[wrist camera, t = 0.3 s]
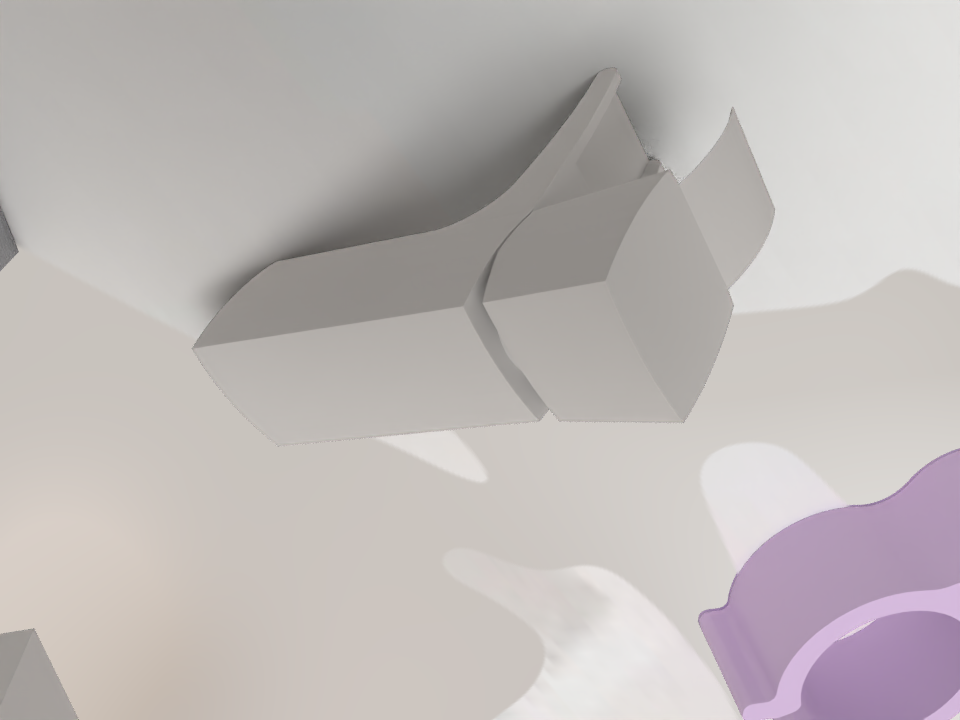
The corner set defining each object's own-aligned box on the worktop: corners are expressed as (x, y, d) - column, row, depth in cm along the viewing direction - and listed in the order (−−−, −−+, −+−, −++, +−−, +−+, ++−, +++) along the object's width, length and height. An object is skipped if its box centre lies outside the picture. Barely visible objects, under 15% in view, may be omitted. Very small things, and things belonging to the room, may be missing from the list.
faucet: (182, 348, 34) (608, 273, 21) (391, 133, 43) (774, -13, 30) (277, 455, 37) (705, 450, 24) (454, 232, 46) (828, 139, 33)
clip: (974, 400, 47) (1066, 476, 40) (1050, 528, 52) (1141, 611, 46) (673, 598, 51) (715, 693, 45) (772, 697, 56) (822, 793, 50)
